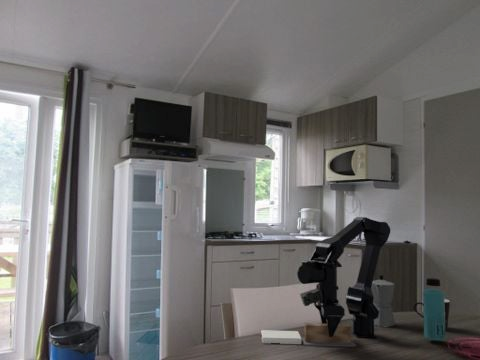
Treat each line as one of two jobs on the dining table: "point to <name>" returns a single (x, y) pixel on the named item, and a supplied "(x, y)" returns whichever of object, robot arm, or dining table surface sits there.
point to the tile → (280, 337)
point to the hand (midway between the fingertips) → (327, 332)
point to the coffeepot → (383, 301)
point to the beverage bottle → (434, 311)
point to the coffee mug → (447, 305)
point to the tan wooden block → (320, 333)
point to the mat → (327, 343)
